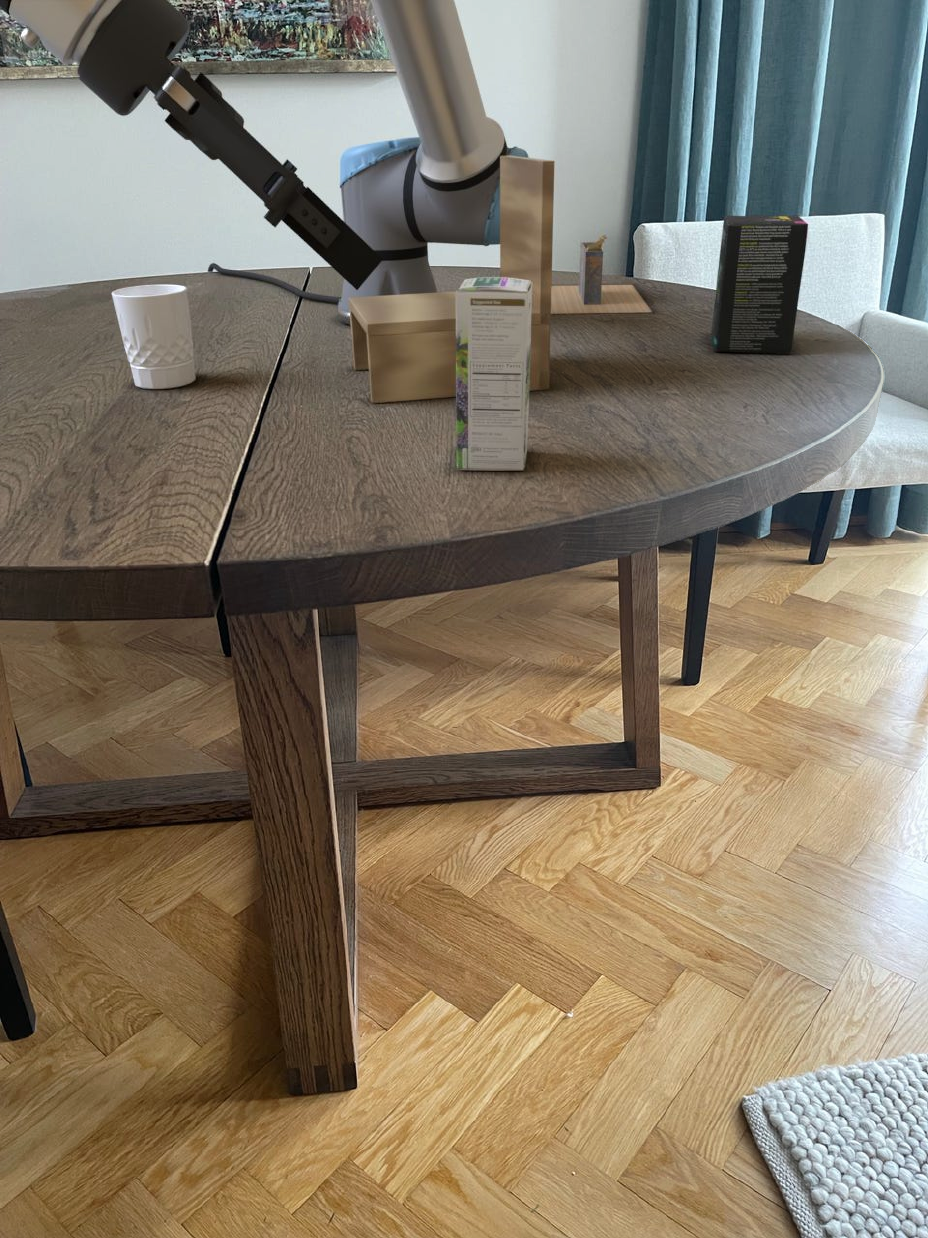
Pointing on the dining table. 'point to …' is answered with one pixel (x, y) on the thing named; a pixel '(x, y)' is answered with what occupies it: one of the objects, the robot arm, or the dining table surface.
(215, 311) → the dining table surface
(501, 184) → the shelf
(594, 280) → the ruin model on sheet
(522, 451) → the syrup box
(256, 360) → the dining table surface
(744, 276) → the tampon box
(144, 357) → the white cup
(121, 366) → the dining table surface
